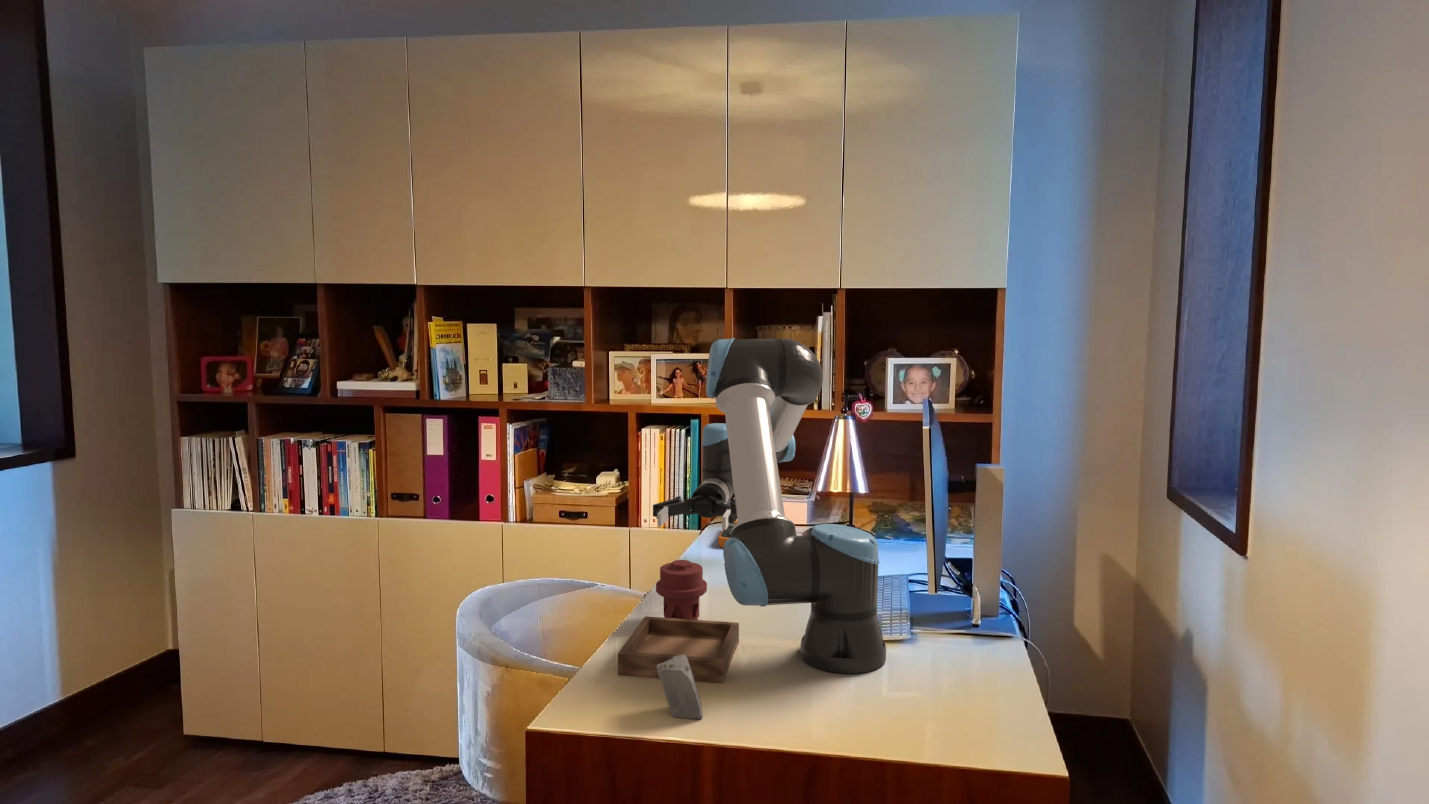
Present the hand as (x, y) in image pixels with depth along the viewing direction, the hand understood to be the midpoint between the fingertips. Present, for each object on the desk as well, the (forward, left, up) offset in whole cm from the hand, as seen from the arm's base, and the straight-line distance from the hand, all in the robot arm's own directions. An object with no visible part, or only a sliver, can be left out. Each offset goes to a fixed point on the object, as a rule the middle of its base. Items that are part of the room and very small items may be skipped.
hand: (691, 522), depth 180 cm
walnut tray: (-21, +16, -18) cm, 32 cm away
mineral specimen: (-38, +27, -18) cm, 50 cm away
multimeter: (+35, -38, -18) cm, 55 cm away
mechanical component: (-7, +7, -18) cm, 21 cm away
